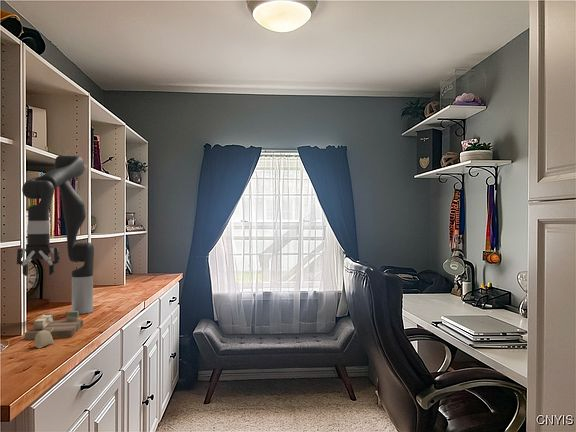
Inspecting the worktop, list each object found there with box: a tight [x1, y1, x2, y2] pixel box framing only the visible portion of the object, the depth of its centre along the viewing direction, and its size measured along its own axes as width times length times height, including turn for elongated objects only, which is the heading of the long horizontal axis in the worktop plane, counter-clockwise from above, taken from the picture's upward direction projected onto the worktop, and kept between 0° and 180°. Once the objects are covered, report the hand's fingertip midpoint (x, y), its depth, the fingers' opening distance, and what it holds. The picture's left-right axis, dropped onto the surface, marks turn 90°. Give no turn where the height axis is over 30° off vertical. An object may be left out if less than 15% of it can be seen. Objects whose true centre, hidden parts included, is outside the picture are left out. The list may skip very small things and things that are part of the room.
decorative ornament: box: [33, 328, 55, 349], centre depth 160 cm, size 4×8×5 cm, turn 161°
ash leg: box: [33, 312, 54, 329], centre depth 178 cm, size 14×3×3 cm, turn 12°
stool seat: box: [24, 310, 84, 341], centre depth 178 cm, size 20×16×6 cm
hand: (38, 275), depth 172 cm, fingers open, 8 cm apart
